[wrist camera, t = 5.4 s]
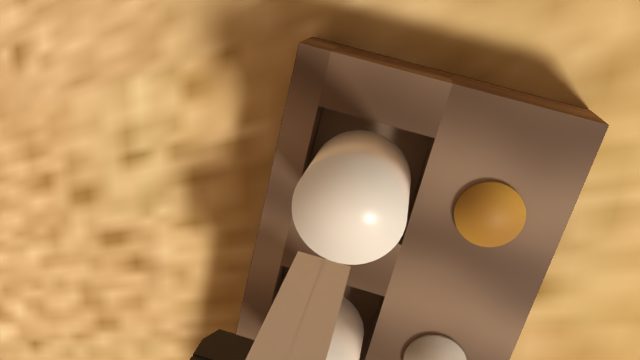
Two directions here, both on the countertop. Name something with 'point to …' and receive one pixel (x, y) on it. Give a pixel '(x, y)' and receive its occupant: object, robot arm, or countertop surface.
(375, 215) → the button
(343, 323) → the button
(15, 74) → the countertop surface
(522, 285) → the board
